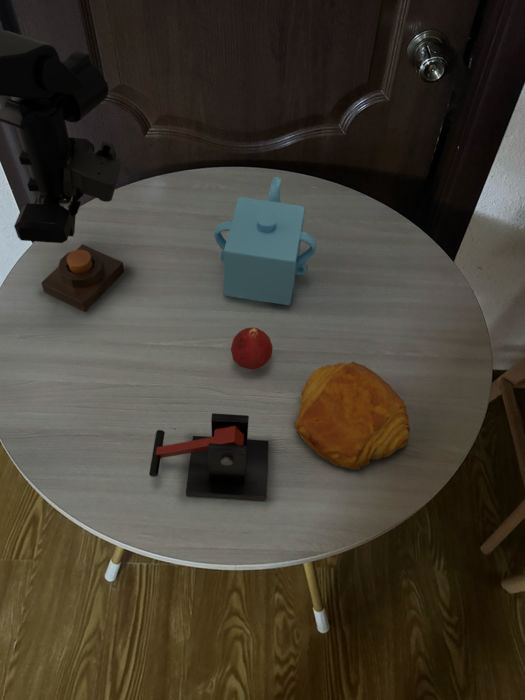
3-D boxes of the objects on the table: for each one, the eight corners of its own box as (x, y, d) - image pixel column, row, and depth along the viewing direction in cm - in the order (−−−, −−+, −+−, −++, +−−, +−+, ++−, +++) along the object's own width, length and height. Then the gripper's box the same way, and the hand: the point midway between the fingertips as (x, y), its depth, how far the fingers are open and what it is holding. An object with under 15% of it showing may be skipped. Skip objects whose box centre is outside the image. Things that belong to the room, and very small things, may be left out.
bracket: (186, 496, 77) (181, 461, 70) (193, 439, 82) (189, 400, 74) (265, 501, 78) (270, 466, 70) (268, 444, 82) (272, 406, 74)
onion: (236, 383, 88) (237, 350, 81) (226, 352, 91) (226, 317, 85) (275, 376, 89) (279, 342, 83) (264, 345, 92) (267, 310, 86)
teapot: (305, 314, 96) (315, 255, 86) (207, 299, 97) (205, 238, 87) (317, 236, 107) (327, 175, 97) (229, 223, 108) (229, 161, 97)
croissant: (342, 371, 93) (346, 333, 87) (424, 435, 84) (435, 398, 78) (270, 423, 86) (269, 385, 80) (351, 497, 78) (356, 461, 72)
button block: (85, 312, 94) (80, 295, 91) (44, 292, 96) (38, 274, 93) (124, 271, 100) (121, 254, 96) (84, 253, 102) (80, 235, 98)
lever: (154, 479, 76) (144, 471, 74) (161, 436, 80) (152, 428, 78) (242, 465, 72) (232, 456, 70) (245, 420, 76) (236, 411, 74)
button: (82, 277, 94) (80, 269, 92) (64, 268, 95) (61, 260, 93) (97, 263, 96) (95, 254, 94) (79, 254, 97) (76, 246, 95)
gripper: (94, 193, 71) (113, 286, 83) (123, 103, 82) (136, 196, 95) (-3, 186, 71) (31, 280, 83) (39, 97, 82) (64, 191, 95)
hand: (70, 234), depth 89 cm, fingers closed
